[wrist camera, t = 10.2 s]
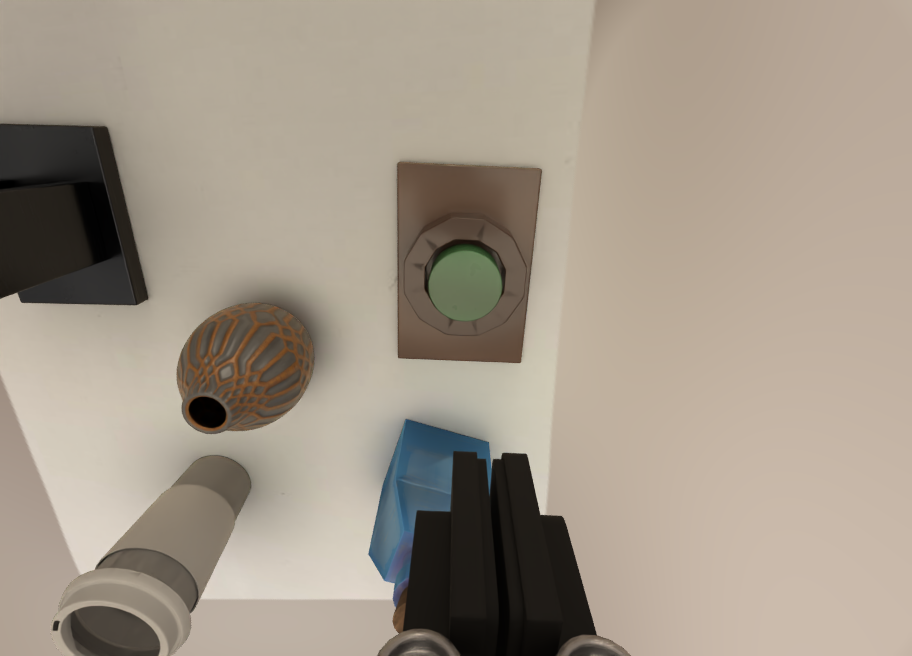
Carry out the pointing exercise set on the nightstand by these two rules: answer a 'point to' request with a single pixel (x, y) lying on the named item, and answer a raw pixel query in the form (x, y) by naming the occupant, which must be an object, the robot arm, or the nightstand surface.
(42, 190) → the switch bracket
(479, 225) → the button block
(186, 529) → the cup
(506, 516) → the robot arm
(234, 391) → the vase
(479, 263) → the light button
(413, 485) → the perfume bottle
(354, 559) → the nightstand surface
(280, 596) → the nightstand surface
